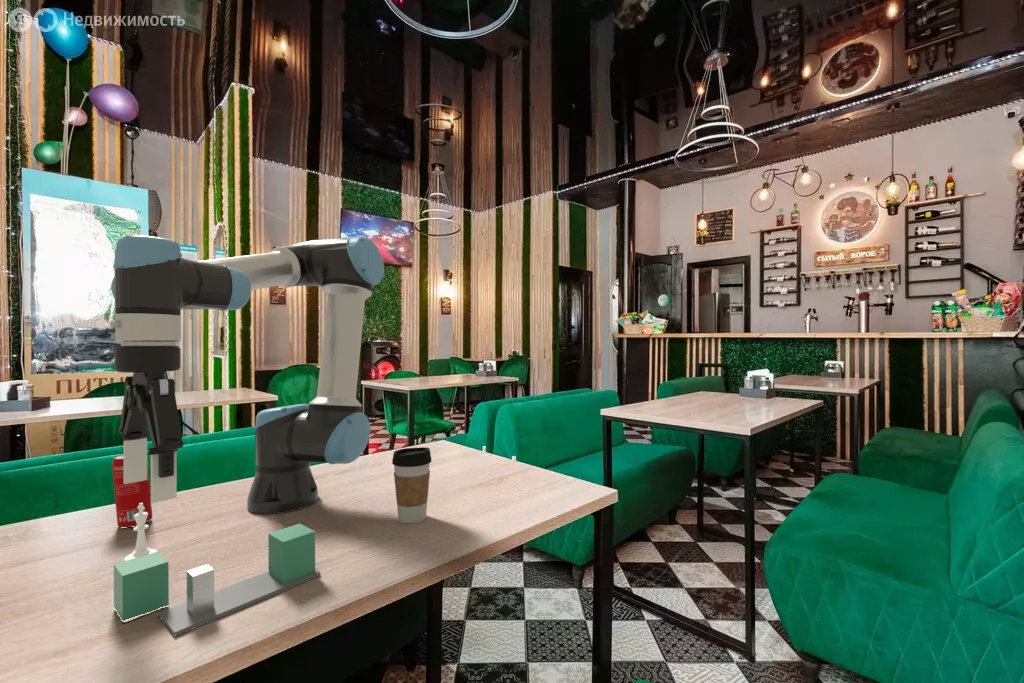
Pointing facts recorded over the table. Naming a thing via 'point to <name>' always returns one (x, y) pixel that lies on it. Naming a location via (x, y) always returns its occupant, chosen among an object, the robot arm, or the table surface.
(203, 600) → the post
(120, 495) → the beverage can
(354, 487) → the table surface
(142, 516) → the chess piece
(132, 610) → the green block
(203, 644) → the table surface
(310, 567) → the stand
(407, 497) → the coffee cup
